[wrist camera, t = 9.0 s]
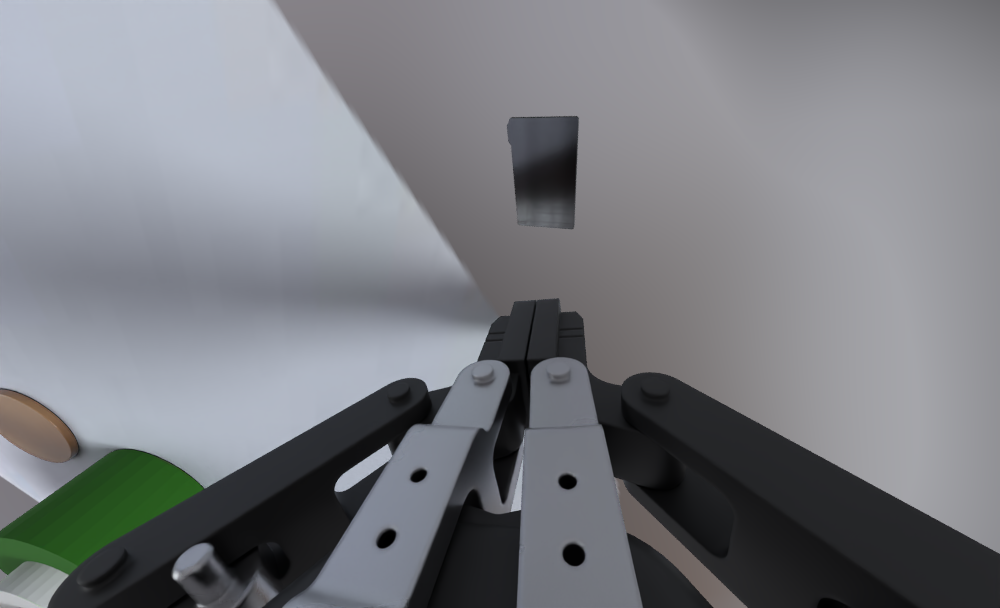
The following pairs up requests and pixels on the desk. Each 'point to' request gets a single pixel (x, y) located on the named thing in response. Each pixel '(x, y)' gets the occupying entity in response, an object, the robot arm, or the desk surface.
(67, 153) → the desk surface
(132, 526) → the candle
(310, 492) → the robot arm
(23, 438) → the coaster
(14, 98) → the desk surface
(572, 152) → the build plate
